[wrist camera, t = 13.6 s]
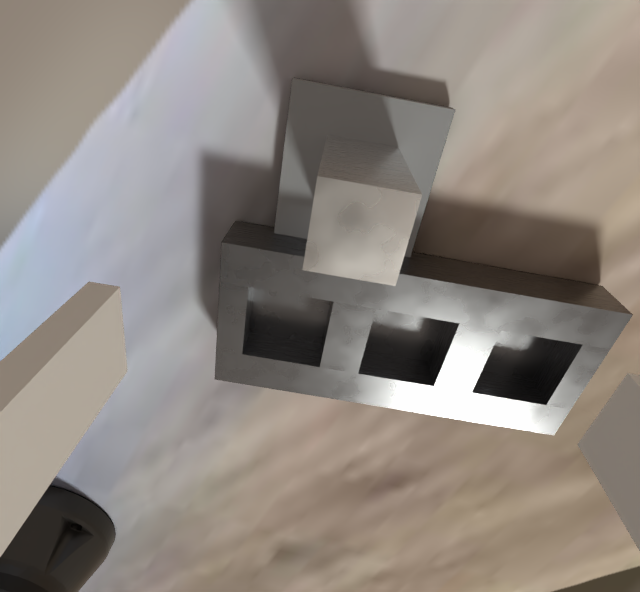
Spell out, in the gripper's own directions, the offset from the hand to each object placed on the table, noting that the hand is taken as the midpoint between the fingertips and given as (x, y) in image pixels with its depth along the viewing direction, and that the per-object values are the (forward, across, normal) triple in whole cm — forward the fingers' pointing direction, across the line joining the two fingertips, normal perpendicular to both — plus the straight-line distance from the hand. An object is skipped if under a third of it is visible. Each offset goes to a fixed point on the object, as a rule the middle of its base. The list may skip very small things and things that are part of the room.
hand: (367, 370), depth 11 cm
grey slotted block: (+20, -6, +11) cm, 24 cm away
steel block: (+20, 0, 0) cm, 20 cm away
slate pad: (+20, 0, 0) cm, 21 cm away
